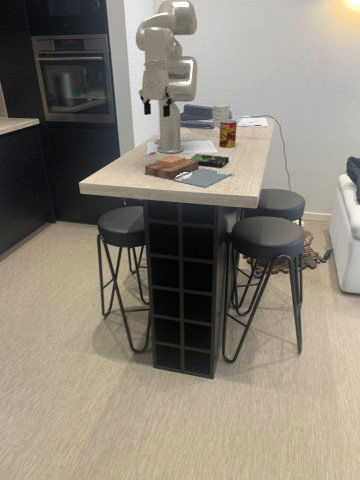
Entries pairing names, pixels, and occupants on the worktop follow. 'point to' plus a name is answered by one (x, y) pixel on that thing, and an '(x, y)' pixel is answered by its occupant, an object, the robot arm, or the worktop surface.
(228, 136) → the canned food
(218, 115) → the supplement box
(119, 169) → the worktop surface
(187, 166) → the block
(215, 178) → the slate mat
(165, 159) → the terracotta tile
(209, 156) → the disk drive
